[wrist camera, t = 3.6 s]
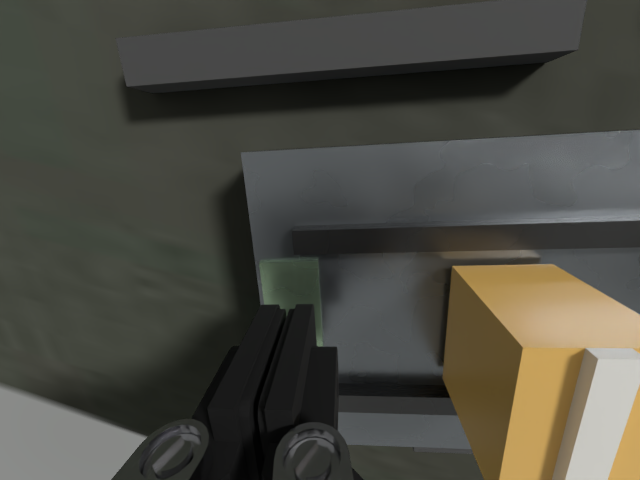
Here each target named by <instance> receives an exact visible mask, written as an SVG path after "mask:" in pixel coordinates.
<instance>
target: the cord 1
mask: <svg viewBox="0 0 640 480" xmlns="http://www.w3.org/2000/svg"><path fill="white" fill-rule="evenodd" d="M586 3H587V0H498V1H488V2H478V3H467V4H457V5H447V6H437V7H427V8H417V9H407V10H396V11H386V12H376V13H366V14H356V15H346V16H335V17H325V18H315V19H305V20H295V21H285V22H275V23H264V24H254V25H244V26H234V27H224V28H214V29H204V30H193V31H183V32H173V33H163V34H153V35H143V36H132V37H122V38H116V42H117V47H118V51H119V55H120V60H121V64H122V69H123V73H124V77H125V82H126V86H127V87H130V88H134V89H138V90H141V91H145V92H149V93H163V92H176V91H189V90H202V89H214V88H227V87H240V86H253V85H265V84H278V83H291V82H304V81H316V80H329V79H342V78H355V77H367V76H380V75H393V74H406V73H418V72H431V71H444V70H457V69H469V68H482V67H495V66H508V65H520V64H533V63H546V62H549V61H552V60H554V59H557V58H559V57H562V56H564V55H566V54H569V53H571V52H574V51H576V50H578V47H579V41H580V36H581V30H582V25H583V19H584V14H585V8H586Z"/></svg>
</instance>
